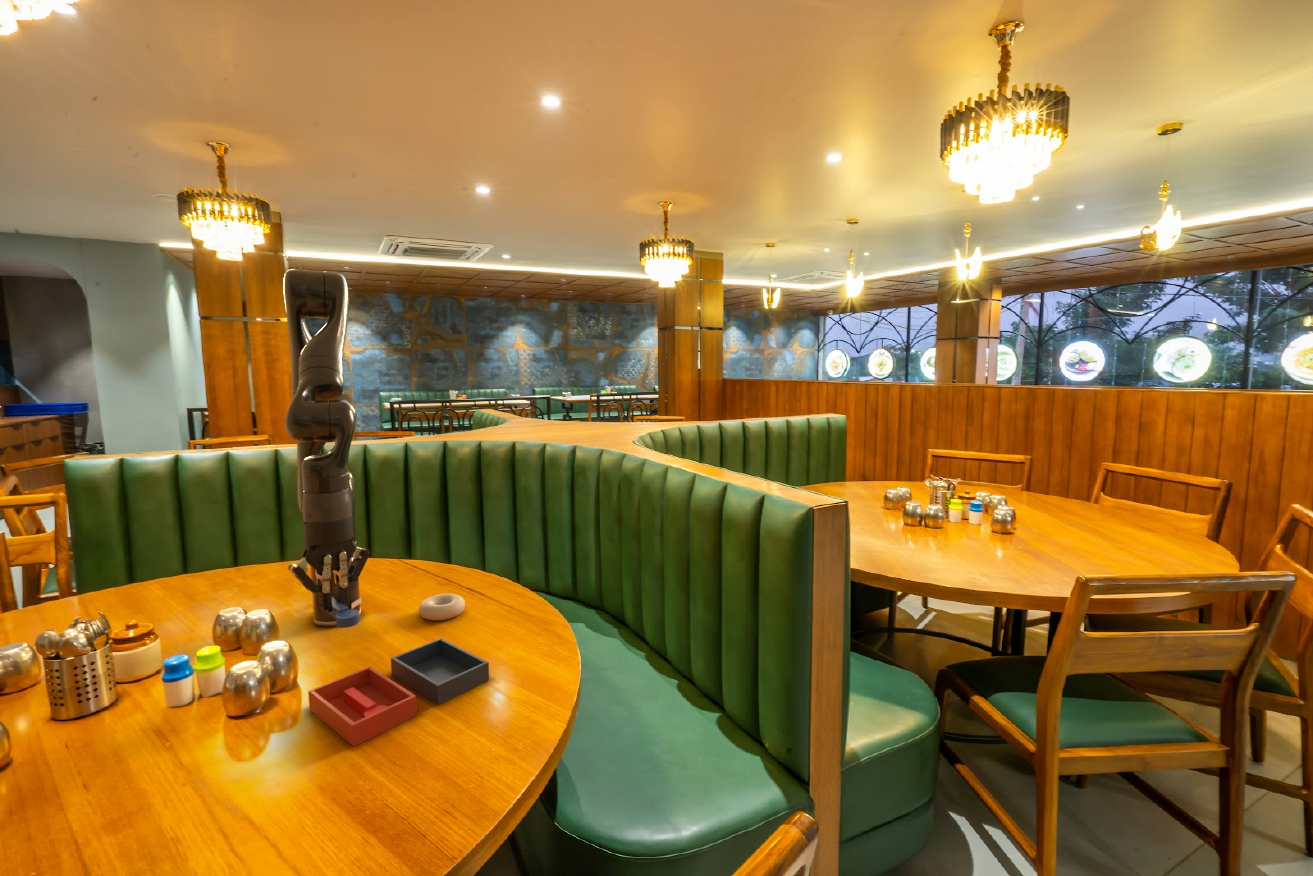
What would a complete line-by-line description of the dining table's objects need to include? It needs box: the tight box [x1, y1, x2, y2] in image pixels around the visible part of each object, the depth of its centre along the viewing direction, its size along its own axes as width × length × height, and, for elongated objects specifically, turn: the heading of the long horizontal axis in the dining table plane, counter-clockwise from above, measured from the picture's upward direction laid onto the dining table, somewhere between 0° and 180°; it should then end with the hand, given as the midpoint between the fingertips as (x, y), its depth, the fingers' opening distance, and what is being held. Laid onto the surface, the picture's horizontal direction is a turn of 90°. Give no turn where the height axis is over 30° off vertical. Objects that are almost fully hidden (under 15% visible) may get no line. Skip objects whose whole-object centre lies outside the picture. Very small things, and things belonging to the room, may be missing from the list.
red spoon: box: [343, 687, 387, 718], centre depth 96 cm, size 11×4×2 cm, turn 52°
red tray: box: [307, 666, 418, 748], centre depth 97 cm, size 15×10×3 cm
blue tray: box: [390, 637, 490, 706], centre depth 108 cm, size 15×10×3 cm
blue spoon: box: [319, 597, 360, 629], centre depth 105 cm, size 11×4×2 cm, turn 51°
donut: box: [418, 593, 466, 622], centre depth 135 cm, size 10×4×10 cm
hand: (333, 609), depth 106 cm, fingers closed on blue spoon, 1 cm apart
